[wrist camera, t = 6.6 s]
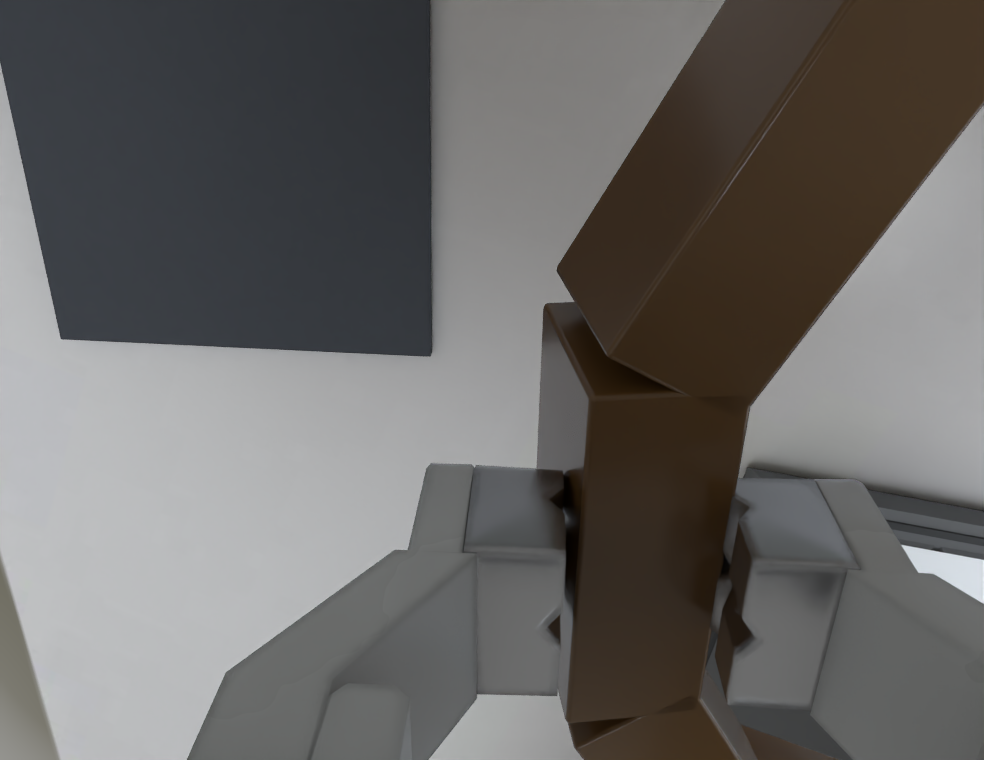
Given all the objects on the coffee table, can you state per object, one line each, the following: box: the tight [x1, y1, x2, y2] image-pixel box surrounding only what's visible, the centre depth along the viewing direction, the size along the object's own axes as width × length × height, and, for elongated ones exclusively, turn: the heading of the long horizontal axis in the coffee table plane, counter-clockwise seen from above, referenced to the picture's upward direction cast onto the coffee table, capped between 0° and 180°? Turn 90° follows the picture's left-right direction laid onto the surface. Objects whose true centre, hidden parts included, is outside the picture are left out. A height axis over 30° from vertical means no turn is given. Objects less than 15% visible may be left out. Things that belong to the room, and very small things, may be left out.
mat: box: [0, 0, 432, 356], centre depth 26 cm, size 16×13×1 cm
